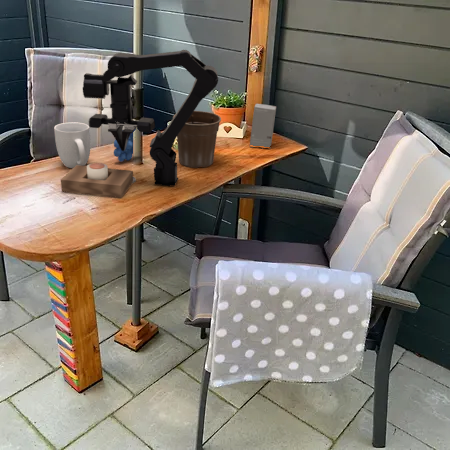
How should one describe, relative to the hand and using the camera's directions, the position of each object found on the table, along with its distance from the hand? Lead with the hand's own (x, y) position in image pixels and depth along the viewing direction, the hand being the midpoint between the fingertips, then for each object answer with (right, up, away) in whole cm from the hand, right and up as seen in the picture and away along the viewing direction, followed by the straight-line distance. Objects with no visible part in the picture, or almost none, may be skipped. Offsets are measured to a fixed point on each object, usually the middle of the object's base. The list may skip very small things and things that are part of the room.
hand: (123, 150), depth 150 cm
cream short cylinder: (-7, -11, -1) cm, 13 cm away
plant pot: (+21, -1, +23) cm, 31 cm away
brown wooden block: (-7, -11, -1) cm, 14 cm away
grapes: (-3, 0, +21) cm, 21 cm away
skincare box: (+45, +8, +42) cm, 63 cm away
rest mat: (-1, -9, +5) cm, 10 cm away
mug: (-18, -3, +13) cm, 23 cm away
